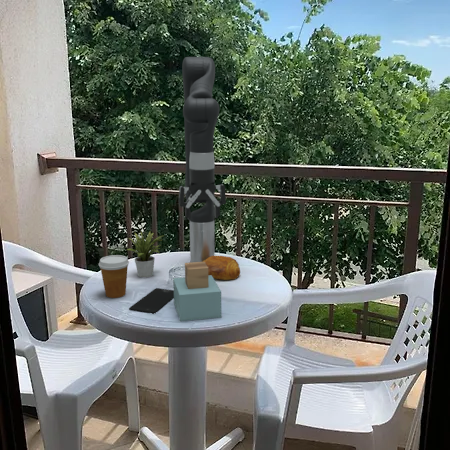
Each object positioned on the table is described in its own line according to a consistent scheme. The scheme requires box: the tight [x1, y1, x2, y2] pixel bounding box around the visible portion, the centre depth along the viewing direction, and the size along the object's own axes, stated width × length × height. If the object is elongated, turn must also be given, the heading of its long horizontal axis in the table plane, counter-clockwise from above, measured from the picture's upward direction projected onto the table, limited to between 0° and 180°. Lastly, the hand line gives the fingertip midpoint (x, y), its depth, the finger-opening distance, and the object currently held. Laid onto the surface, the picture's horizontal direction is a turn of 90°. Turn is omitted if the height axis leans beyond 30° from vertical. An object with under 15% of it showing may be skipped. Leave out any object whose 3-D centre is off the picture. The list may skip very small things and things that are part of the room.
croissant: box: [203, 255, 241, 281], centre depth 182 cm, size 14×16×8 cm
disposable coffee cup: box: [98, 254, 130, 299], centre depth 163 cm, size 10×10×12 cm
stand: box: [172, 275, 222, 322], centre depth 152 cm, size 14×12×8 cm
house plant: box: [126, 231, 165, 279], centre depth 179 cm, size 14×14×16 cm
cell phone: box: [128, 287, 174, 315], centre depth 159 cm, size 9×18×1 cm, turn 160°
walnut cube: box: [184, 262, 209, 289], centre depth 150 cm, size 6×6×6 cm
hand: (202, 218), depth 157 cm, fingers open, 8 cm apart
